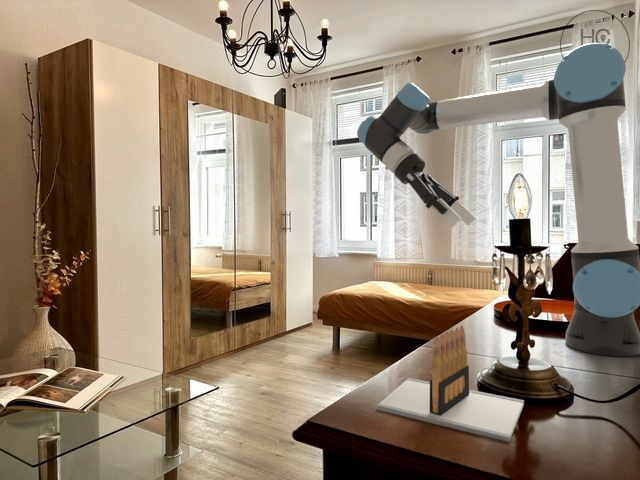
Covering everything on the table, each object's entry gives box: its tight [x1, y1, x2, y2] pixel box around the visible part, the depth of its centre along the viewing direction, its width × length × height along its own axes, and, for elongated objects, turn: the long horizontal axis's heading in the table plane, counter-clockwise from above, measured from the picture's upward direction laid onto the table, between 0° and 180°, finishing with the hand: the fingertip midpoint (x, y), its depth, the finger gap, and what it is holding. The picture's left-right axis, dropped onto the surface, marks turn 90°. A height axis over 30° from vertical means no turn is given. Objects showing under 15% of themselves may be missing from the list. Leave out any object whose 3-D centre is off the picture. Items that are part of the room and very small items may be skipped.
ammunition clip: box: [429, 325, 470, 416], centre depth 70 cm, size 11×2×12 cm, turn 137°
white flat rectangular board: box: [375, 377, 525, 443], centre depth 70 cm, size 20×14×1 cm
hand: (464, 222), depth 102 cm, fingers open, 13 cm apart
